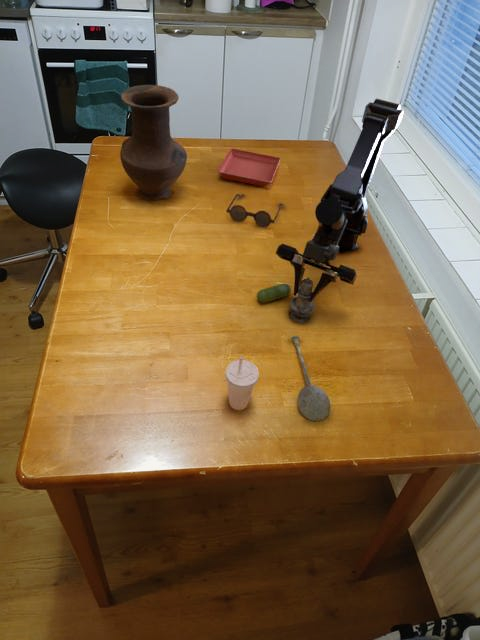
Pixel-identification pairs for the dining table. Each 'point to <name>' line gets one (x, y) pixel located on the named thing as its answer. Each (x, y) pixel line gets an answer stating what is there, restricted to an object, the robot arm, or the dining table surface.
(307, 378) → the soupspoon
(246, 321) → the dining table surface
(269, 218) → the eyeglasses
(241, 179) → the plant saucer
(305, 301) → the chess piece
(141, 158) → the vase
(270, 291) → the pickle
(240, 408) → the smoothie
